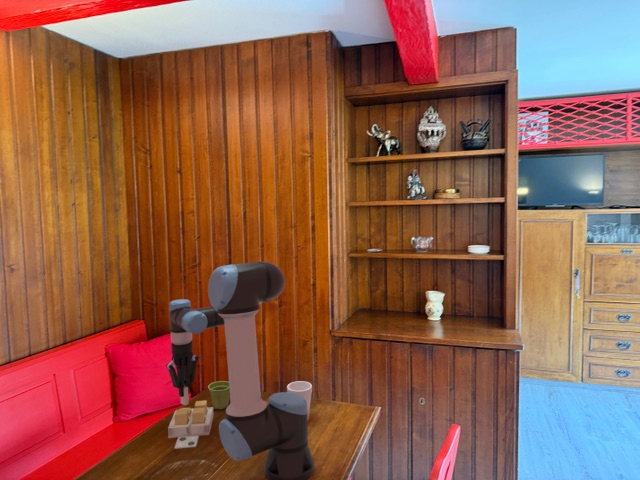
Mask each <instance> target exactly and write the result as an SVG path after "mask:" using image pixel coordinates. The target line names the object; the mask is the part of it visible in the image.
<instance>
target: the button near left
mask: <svg viewBox="0 0 640 480" xmlns="http://www.w3.org/2000/svg"><path fill="white" fill-rule="evenodd" d="M179 409H180V408H179ZM179 409H176V413H175V412H174V413H175V425H186V424H187V422H188V409H180V410H179Z"/></svg>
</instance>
